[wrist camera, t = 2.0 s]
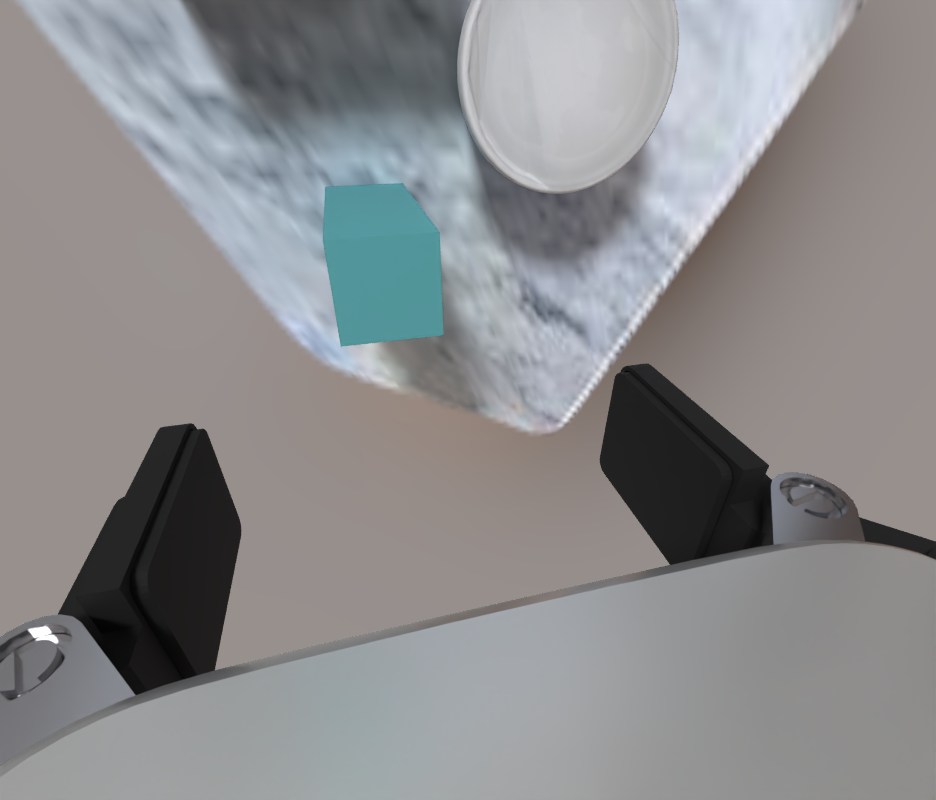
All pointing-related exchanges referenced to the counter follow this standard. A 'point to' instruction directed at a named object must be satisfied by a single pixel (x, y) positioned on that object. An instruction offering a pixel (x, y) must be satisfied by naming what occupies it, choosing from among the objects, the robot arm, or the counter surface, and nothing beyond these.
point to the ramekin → (565, 85)
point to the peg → (382, 264)
